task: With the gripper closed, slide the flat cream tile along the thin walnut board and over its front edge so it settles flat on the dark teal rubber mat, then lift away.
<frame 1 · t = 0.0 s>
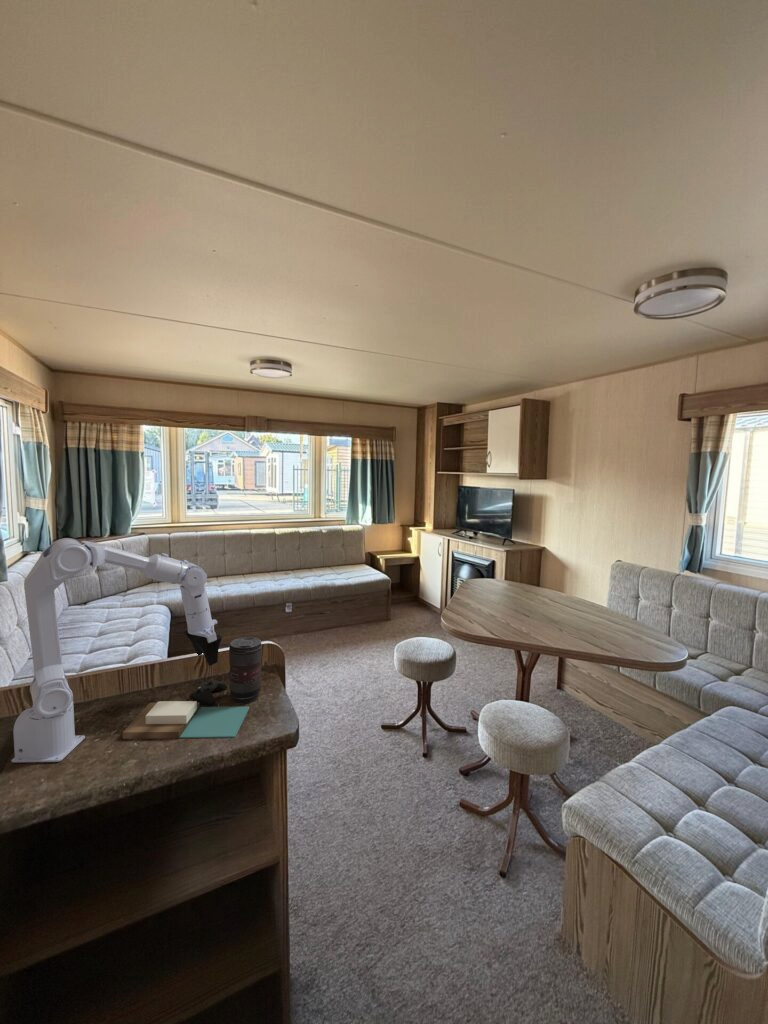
hand: (207, 658, 108), 11 cm above the countertop, tool pointing down, fingers open, 7 cm apart
cream tile: (172, 712, 98), point 2 cm above the countertop, touching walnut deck
game controller: (208, 698, 110), on the countertop
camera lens: (246, 698, 110), on the countertop
teal mat: (216, 722, 99), on the countertop
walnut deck: (163, 722, 98), on the countertop
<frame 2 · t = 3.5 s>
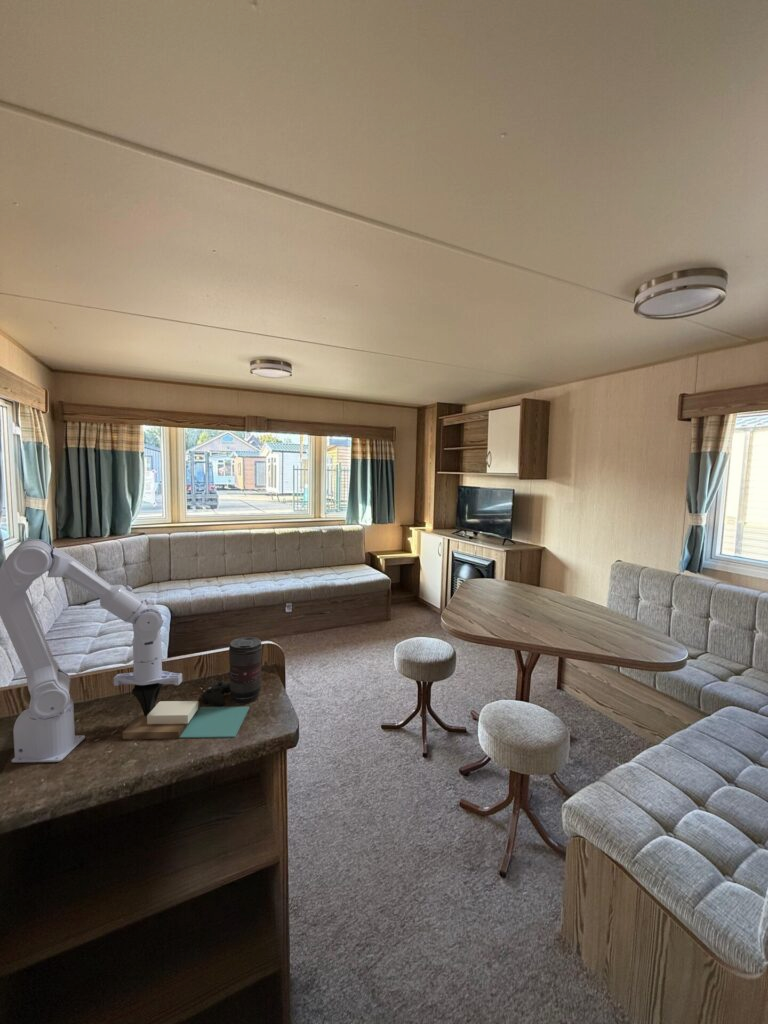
hand: (149, 713, 98), 2 cm above the countertop, tool pointing down, fingers closed
cream tile: (173, 712, 98), point 3 cm above the countertop, touching gripper, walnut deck
game controller: (218, 698, 110), on the countertop
everything else where it was.
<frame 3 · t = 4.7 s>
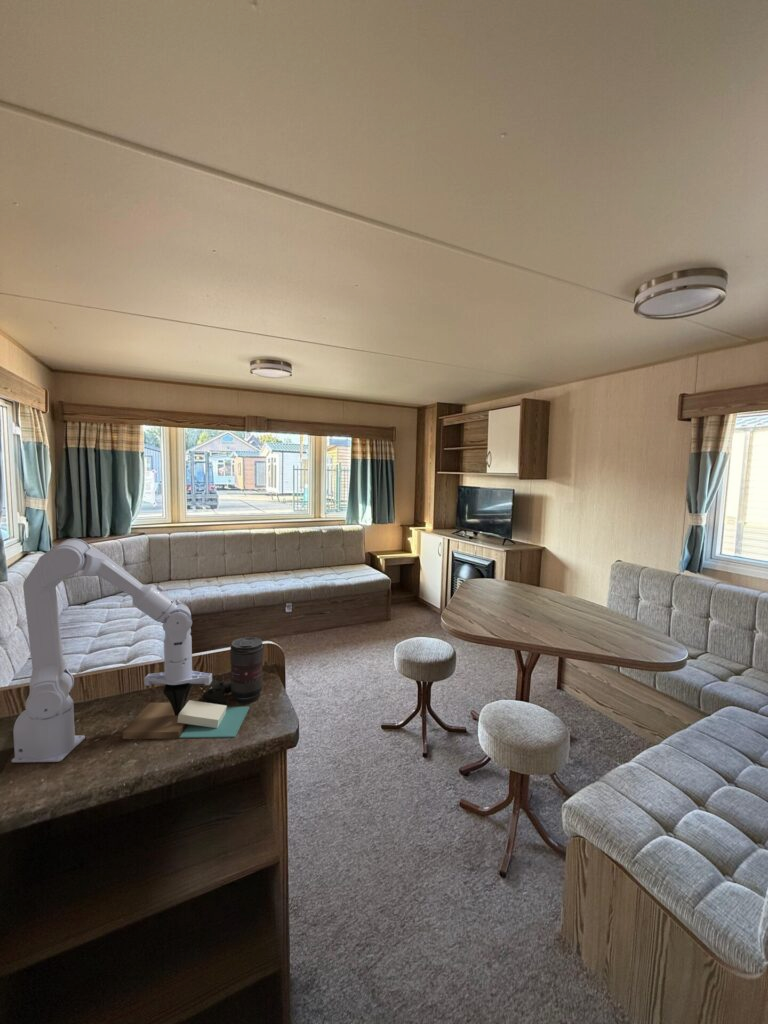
hand: (179, 713, 98), 2 cm above the countertop, tool pointing down, fingers closed
cream tile: (202, 713, 98), point 2 cm above the countertop, tilted 9°, touching gripper
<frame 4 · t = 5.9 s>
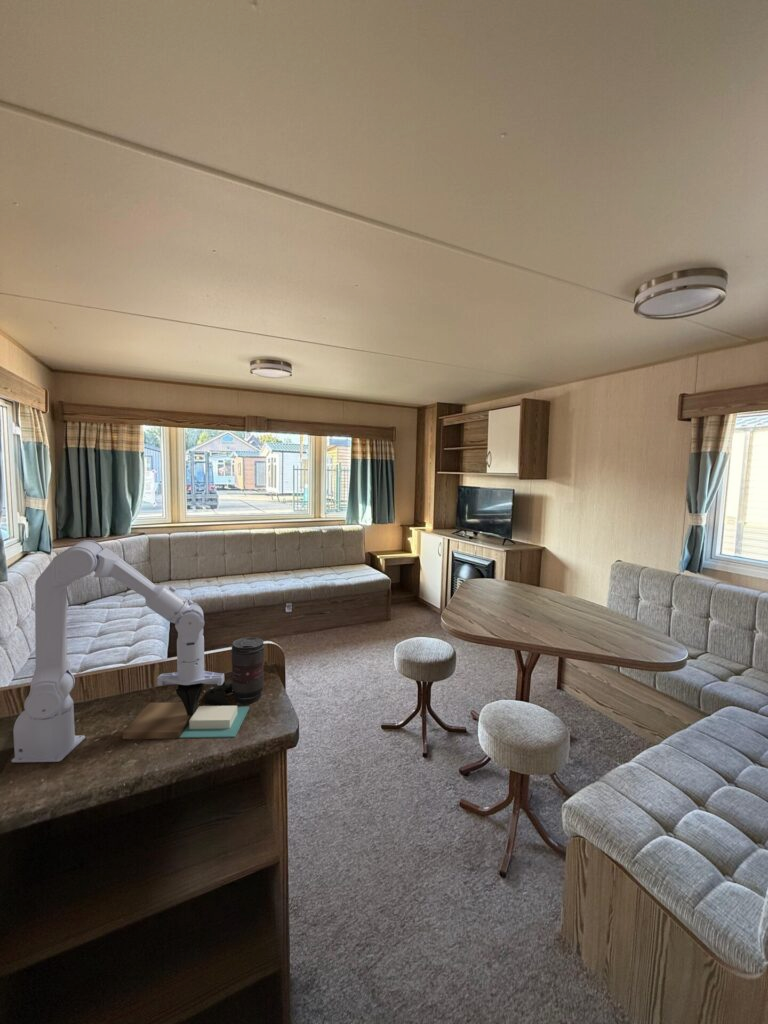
hand: (191, 713, 98), 2 cm above the countertop, tool pointing down, fingers closed
cream tile: (214, 716, 99), point 1 cm above the countertop, touching gripper, teal mat
game controller: (221, 698, 110), on the countertop, touching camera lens
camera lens: (248, 698, 110), on the countertop, touching game controller
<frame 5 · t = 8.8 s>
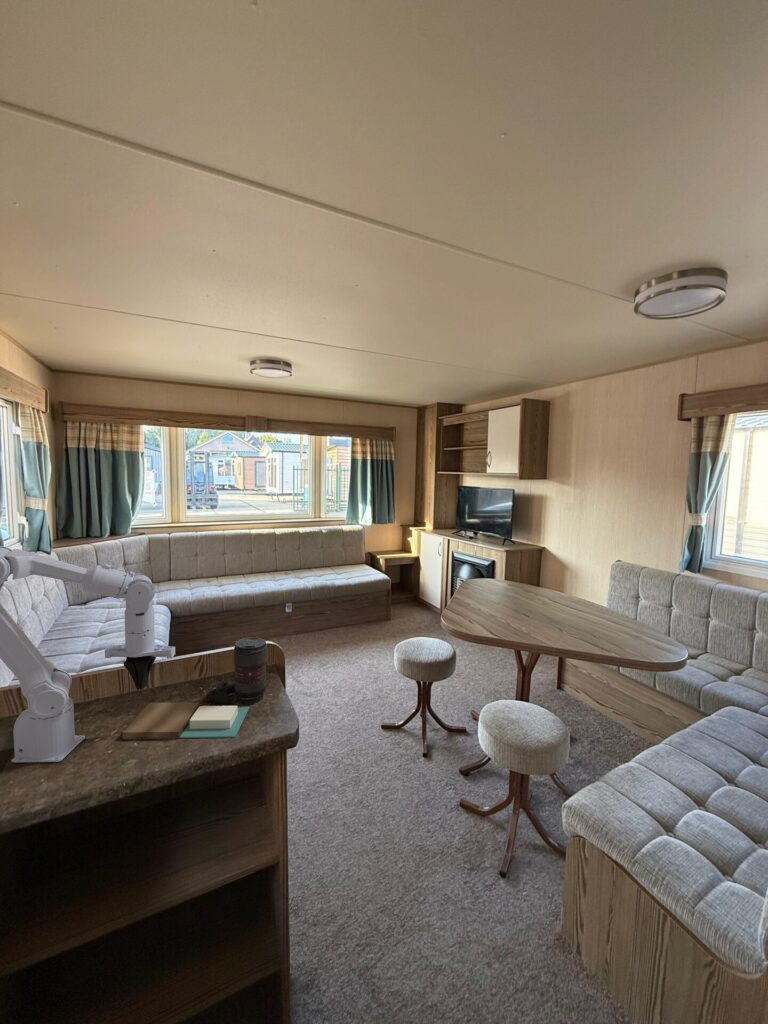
hand: (141, 687, 96), 9 cm above the countertop, tool pointing down, fingers closed
cream tile: (214, 716, 99), point 1 cm above the countertop, touching teal mat
game controller: (223, 699, 110), on the countertop
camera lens: (250, 698, 110), on the countertop
at the end: cream tile inside the target area (1.1 cm from its centre), point 1.3 cm above the countertop; cream tile touching teal mat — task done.
